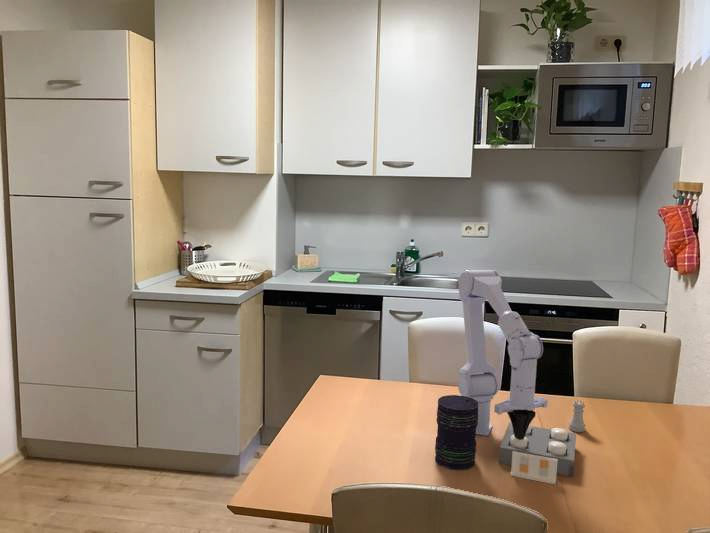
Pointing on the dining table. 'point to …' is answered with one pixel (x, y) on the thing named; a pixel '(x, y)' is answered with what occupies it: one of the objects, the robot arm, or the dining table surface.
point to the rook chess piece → (577, 417)
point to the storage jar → (456, 432)
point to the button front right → (557, 448)
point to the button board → (540, 448)
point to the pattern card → (534, 467)
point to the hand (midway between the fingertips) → (519, 438)
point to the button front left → (518, 442)
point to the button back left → (528, 430)
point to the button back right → (559, 434)
